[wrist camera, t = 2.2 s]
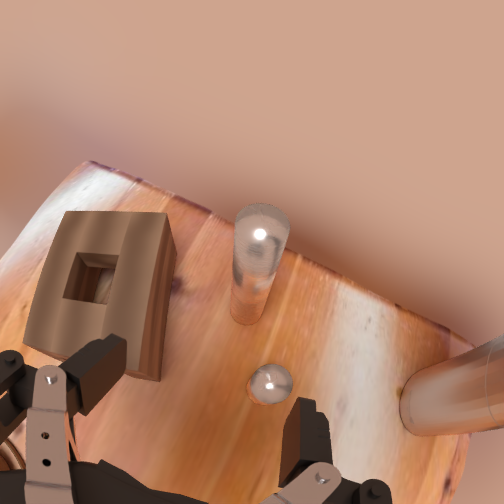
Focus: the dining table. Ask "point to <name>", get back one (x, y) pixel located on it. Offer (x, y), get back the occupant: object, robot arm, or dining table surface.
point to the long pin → (256, 258)
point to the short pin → (269, 385)
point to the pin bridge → (121, 293)
